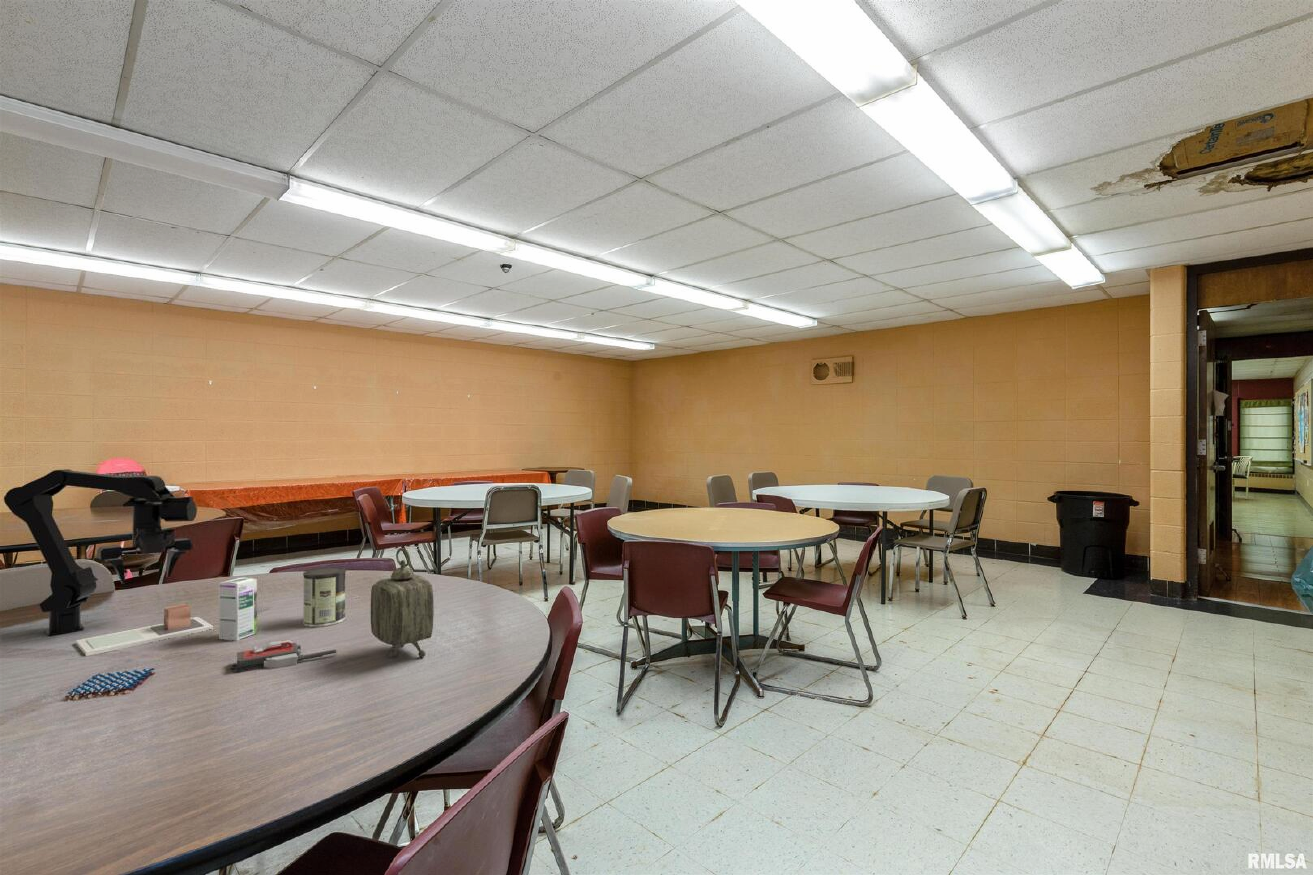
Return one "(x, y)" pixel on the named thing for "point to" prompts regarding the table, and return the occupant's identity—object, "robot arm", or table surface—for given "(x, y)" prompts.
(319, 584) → the coffee can
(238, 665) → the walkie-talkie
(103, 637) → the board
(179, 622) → the terracotta block
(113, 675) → the woven mat
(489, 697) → the table surface
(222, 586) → the syrup box
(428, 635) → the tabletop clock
